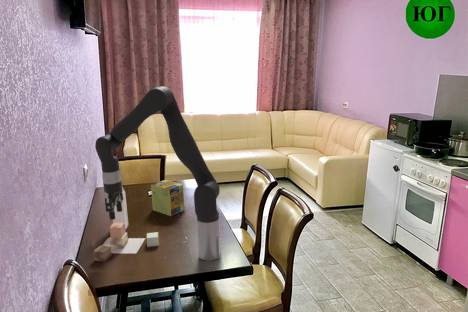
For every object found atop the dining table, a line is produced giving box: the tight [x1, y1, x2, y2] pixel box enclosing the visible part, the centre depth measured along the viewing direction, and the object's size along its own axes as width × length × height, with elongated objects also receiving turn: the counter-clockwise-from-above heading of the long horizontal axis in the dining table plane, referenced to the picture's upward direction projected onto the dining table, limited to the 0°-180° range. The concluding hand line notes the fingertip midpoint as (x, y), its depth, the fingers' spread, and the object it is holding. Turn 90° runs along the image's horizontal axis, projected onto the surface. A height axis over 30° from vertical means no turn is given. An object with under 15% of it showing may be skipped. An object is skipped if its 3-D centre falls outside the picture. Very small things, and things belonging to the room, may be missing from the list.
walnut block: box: [93, 245, 113, 263], centre depth 156 cm, size 5×5×5 cm
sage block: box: [146, 231, 160, 248], centre depth 167 cm, size 5×5×5 cm
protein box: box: [150, 179, 185, 217], centre depth 205 cm, size 10×15×16 cm
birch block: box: [108, 231, 128, 249], centre depth 166 cm, size 6×6×5 cm
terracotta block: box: [109, 222, 126, 238], centre depth 165 cm, size 5×5×5 cm
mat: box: [101, 237, 146, 254], centre depth 167 cm, size 18×14×1 cm
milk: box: [112, 186, 129, 230], centre depth 183 cm, size 6×6×22 cm
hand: (116, 215), depth 163 cm, fingers open, 8 cm apart
